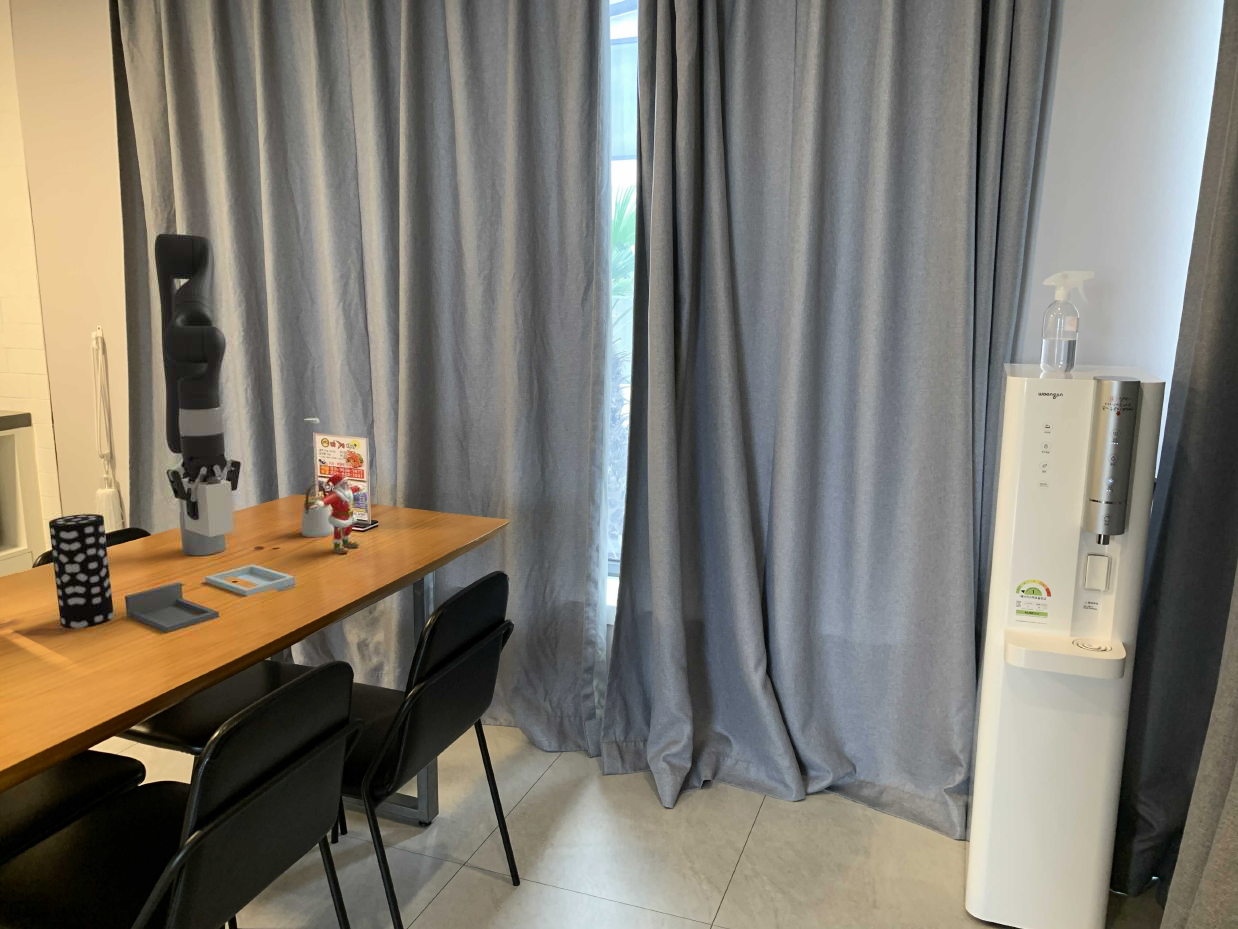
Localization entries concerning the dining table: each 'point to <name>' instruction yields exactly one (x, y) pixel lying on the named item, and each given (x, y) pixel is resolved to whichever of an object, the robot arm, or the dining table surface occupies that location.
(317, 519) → the white tall stand
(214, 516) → the white block with knob
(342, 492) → the santa figurine
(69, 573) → the white-spotted black cylinder
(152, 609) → the bay
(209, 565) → the dining table surface
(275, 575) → the tray
